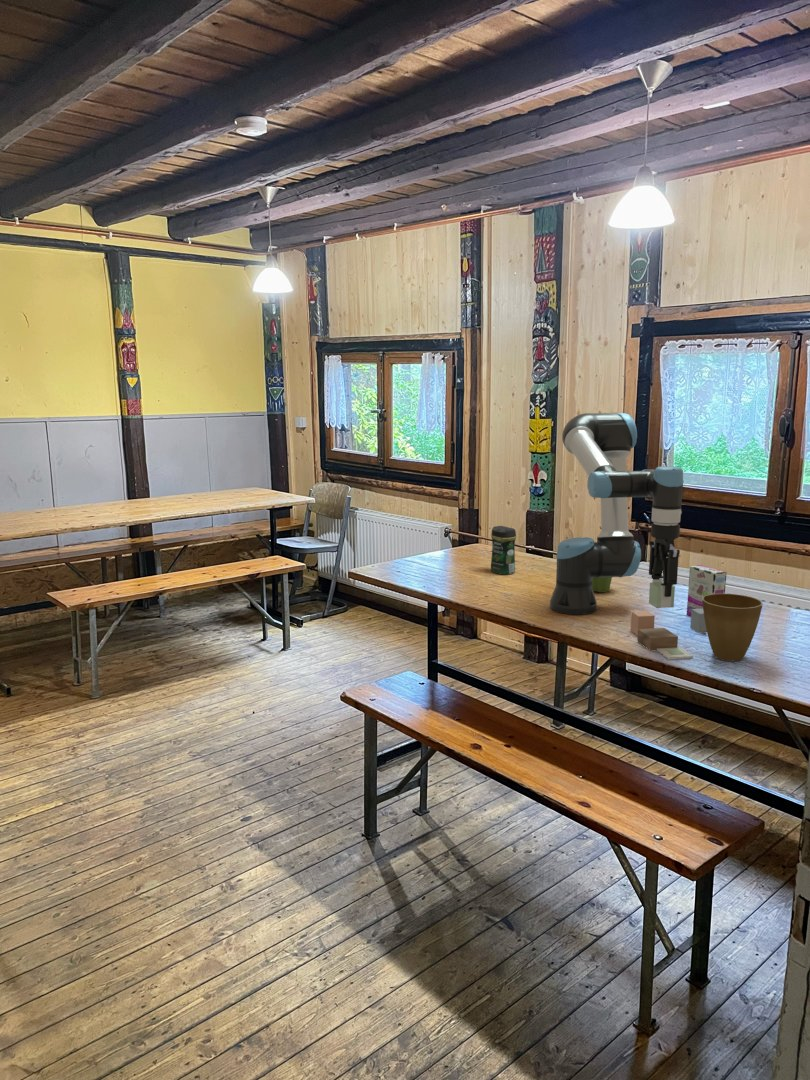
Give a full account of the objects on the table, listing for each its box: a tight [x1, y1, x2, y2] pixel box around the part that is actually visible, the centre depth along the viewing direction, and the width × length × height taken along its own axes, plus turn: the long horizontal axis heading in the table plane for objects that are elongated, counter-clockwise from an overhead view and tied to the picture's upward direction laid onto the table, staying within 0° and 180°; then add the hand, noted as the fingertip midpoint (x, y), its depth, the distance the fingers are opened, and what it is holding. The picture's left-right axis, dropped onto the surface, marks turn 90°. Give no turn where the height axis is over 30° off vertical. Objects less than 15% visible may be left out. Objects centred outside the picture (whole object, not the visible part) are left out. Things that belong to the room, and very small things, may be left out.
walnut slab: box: [637, 627, 679, 651], centre depth 214 cm, size 8×8×4 cm
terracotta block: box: [630, 610, 656, 637], centre depth 225 cm, size 5×5×6 cm
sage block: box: [648, 582, 676, 609], centre depth 212 cm, size 5×5×6 cm
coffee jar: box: [490, 525, 517, 575], centre depth 298 cm, size 10×8×19 cm
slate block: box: [689, 609, 707, 634], centre depth 227 cm, size 5×5×6 cm
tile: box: [656, 646, 694, 660], centre depth 207 cm, size 7×7×1 cm
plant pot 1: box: [592, 577, 613, 593], centre depth 272 cm, size 12×12×11 cm
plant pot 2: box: [702, 593, 763, 662], centre depth 203 cm, size 15×15×16 cm
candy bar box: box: [686, 564, 727, 618], centre depth 236 cm, size 11×5×16 cm, turn 21°
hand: (660, 604), depth 212 cm, fingers closed on sage block, 5 cm apart
